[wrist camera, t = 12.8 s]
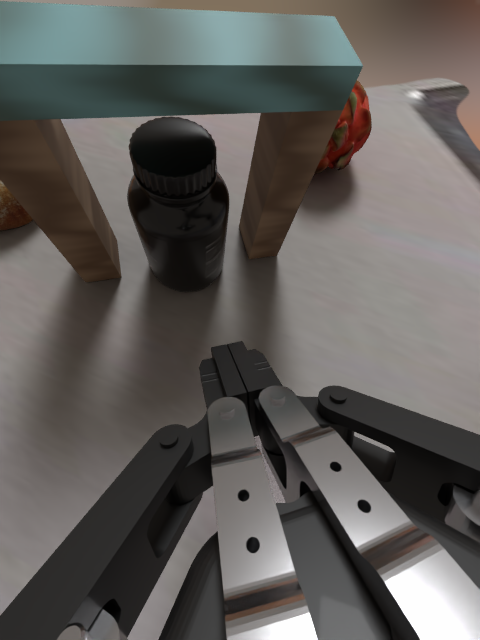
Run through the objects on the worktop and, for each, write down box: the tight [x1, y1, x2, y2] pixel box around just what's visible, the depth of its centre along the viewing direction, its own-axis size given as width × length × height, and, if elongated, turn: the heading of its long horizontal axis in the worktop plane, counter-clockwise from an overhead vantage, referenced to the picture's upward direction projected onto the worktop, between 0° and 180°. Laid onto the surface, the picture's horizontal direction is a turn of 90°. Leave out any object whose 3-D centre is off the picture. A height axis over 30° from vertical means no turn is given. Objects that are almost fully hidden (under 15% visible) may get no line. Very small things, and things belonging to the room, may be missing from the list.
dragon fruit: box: [314, 80, 372, 174], centre depth 31 cm, size 8×8×12 cm
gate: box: [0, 1, 363, 282], centre depth 19 cm, size 18×4×16 cm, turn 104°
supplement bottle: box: [127, 117, 229, 292], centre depth 21 cm, size 7×7×12 cm
